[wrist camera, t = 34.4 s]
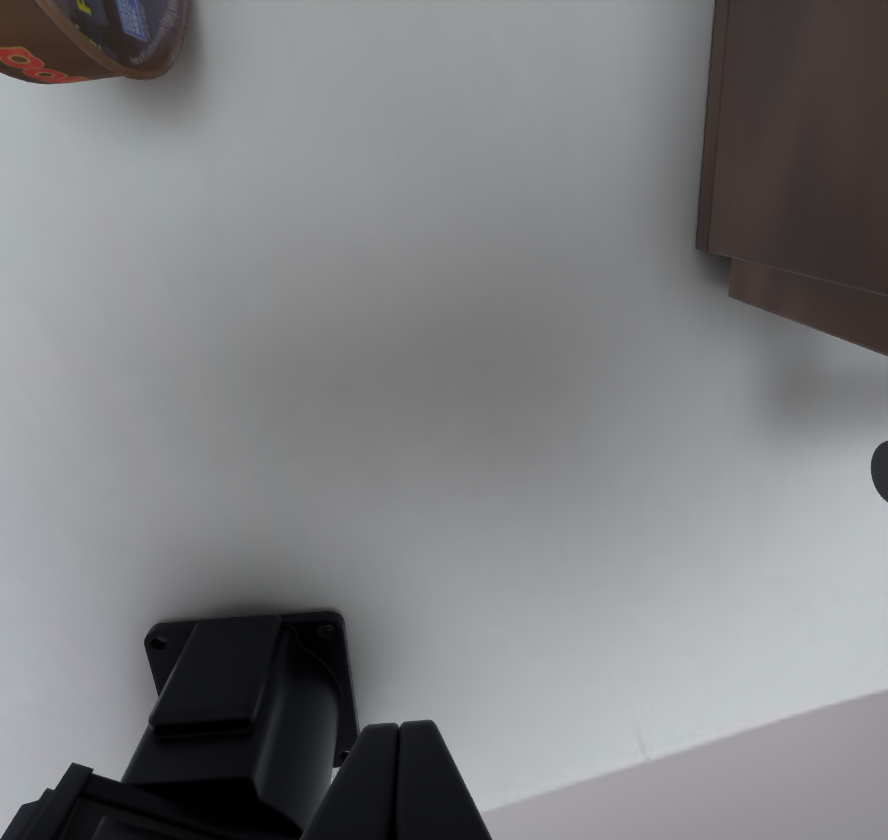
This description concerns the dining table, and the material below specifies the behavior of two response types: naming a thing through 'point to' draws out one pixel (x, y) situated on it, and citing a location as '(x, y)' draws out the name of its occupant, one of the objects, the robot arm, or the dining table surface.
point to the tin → (90, 39)
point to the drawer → (820, 318)
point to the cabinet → (799, 139)
